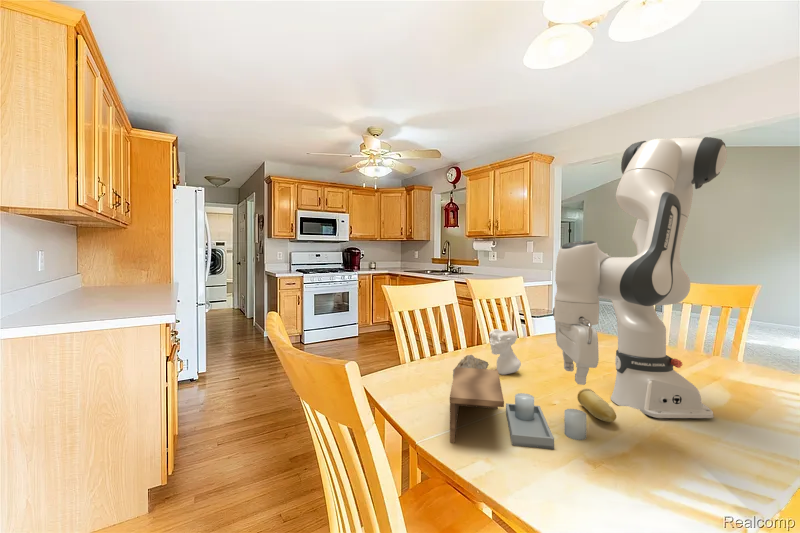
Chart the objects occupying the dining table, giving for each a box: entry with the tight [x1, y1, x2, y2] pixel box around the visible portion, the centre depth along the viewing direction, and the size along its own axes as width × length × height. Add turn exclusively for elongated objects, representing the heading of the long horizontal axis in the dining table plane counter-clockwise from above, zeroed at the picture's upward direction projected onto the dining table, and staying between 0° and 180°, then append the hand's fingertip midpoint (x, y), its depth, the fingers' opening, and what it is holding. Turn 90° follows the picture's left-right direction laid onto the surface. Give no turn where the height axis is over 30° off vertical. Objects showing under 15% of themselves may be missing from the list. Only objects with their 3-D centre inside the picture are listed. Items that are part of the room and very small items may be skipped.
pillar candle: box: [563, 408, 588, 441], centre depth 80 cm, size 4×4×5 cm
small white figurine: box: [489, 328, 522, 376], centre depth 123 cm, size 10×11×15 cm
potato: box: [576, 388, 617, 423], centre depth 90 cm, size 14×5×5 cm, turn 172°
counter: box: [449, 366, 505, 444], centre depth 86 cm, size 11×22×10 cm, turn 168°
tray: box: [505, 403, 555, 450], centre depth 83 cm, size 8×17×2 cm, turn 168°
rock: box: [452, 354, 490, 379], centre depth 111 cm, size 12×7×10 cm, turn 115°
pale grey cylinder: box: [514, 392, 535, 421], centre depth 88 cm, size 4×4×5 cm
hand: (574, 376), depth 80 cm, fingers open, 8 cm apart
